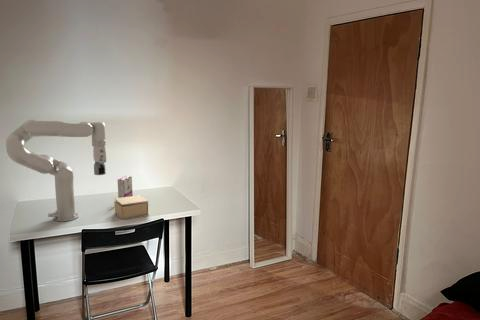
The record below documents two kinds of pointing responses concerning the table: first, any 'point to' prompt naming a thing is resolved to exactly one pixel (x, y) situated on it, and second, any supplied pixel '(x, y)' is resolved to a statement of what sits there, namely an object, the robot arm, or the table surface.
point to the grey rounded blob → (96, 169)
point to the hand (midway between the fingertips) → (99, 172)
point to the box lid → (130, 200)
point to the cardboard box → (131, 210)
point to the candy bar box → (125, 187)
